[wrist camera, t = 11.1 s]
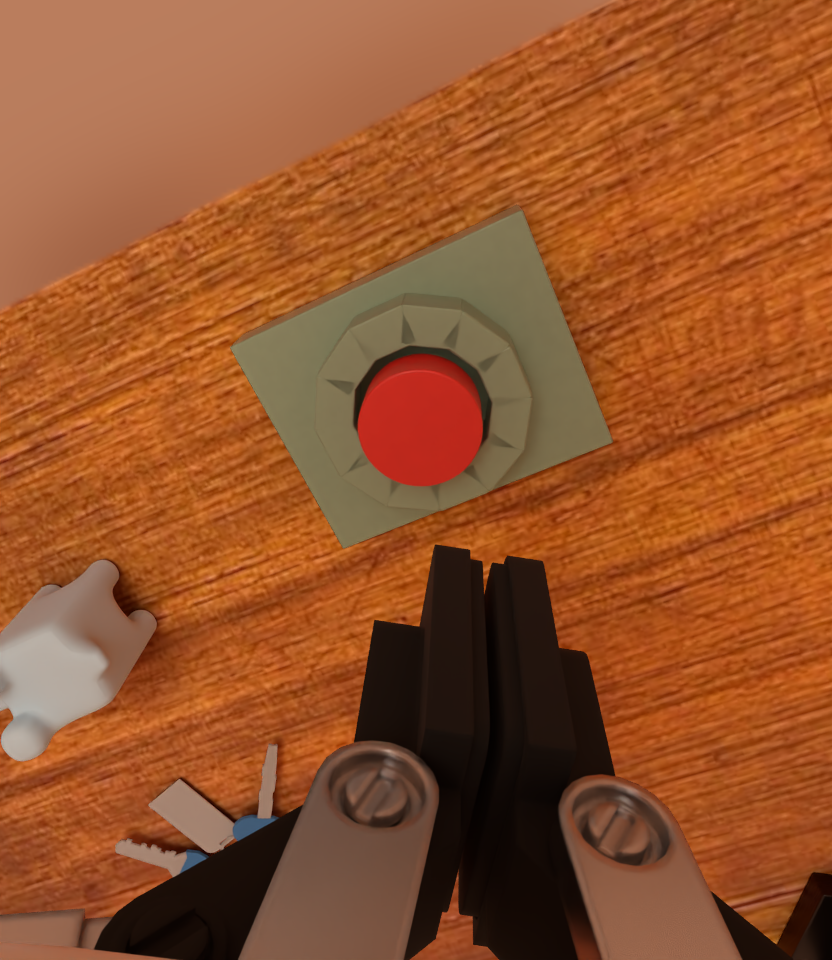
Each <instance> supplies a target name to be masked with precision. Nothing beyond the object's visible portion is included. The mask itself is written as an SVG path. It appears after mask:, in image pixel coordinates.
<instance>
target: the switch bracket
mask: <svg viewBox="0 0 832 960" xmlns="http://www.w3.org/2000/svg"><path fill="white" fill-rule="evenodd" d="M777 946H778V947H779V948H781V949H782V950H783V951H784V952H785V953H787V954H788V955H789V956H790V957H792V958H793V959H794V960H832V875H825V874H818V873H813V874H812V876H811V878H810V880H809V882H808V884H807V886H806V888H805V890H804V892H803V894H802V896H801V898H800V900H799V902H798V904H797V907H796V909H795V911H794V913H793V915H792V917H791V919H790V921H789V923H788V925H787V927H786V929H785V931H784V933H783V935H782V937H781V939H780V941H779V943H778V945H777Z"/></svg>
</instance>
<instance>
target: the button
mask: <svg viewBox="0 0 832 960" xmlns="http://www.w3.org/2000/svg"><path fill="white" fill-rule="evenodd" d="M358 436H359V440H360V444H361V447H362V449H363V451H364V453H365V455H366V457H367V458H368V460H369V461H370V462H371V464H372V465H373V466H374V467H375V468H376V469H377V470H378V471H379V472H381V473H382V474H384V475H385V476H387V477H388V478H390V479H392V480H394V481H396V482H399V483H402V484H406V485H411V486H432V485H437V484H440V483H443V482H446V481H448V480H450V479H452V478H454V477H456V476H457V475H459V474H460V473H461V472H462V471H464V470H465V469H466V468H467V467H468V466H469V465H470V463H471V462H472V461H473V459H474V458H475V456H476V454H477V452H478V450H479V447H480V444H481V441H482V436H483V422H482V410H481V401H480V396H479V393H478V390H477V388H476V386H475V384H474V382H473V381H472V379H471V378H470V376H469V375H468V374H467V373H466V372H465V371H464V370H463V369H462V368H461V367H459V366H458V365H457V364H455V363H454V362H452V361H450V360H448V359H446V358H444V357H440V356H437V355H432V354H411V355H407V356H403V357H400V358H398V359H396V360H394V361H392V362H390V363H388V364H387V365H386V366H384V367H383V368H382V369H381V370H380V371H379V372H378V373H377V374H376V375H375V377H374V378H373V379H372V381H371V383H370V384H369V387H368V389H367V391H366V394H365V397H364V400H363V403H362V406H361V409H360V413H359V417H358Z"/></svg>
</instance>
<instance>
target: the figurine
mask: <svg viewBox="0 0 832 960" xmlns="http://www.w3.org/2000/svg"><path fill="white" fill-rule="evenodd" d="M118 579H119V571H118V569H117V567H116V566H115V565H114V564H113V563H111V562H110V561H107V560H98V561H96V562H94V563H92V564H91V565H90V566H89V568H88V569H87V570H86V571H85V572H84V573H83V574H82V575H81V576H79V577H78V578H77V579H76V580H74V581H73V582H71V583H69V584H68V585H66V586H64V587H63V588H61V587H59V586H57V585H46V586H44V587H42V588H41V589H40V590H39V591H38V592H37V593H36V594H35V595H34V596H33V598H32V599H31V600H30V601H29V602H28V603H27V604H26V605H25V606H24V608H23V609H22V610H21V611H20V612H19V613H18V614H17V615H16V616H15V618H14V619H13V620H12V621H11V622H10V623H9V624H8V625H7V626H6V628H5V629H4V630H3V631H2V632H1V633H0V711H2V710H4V709H6V708H9V709H10V711H11V712H12V714H13V717H14V718H13V720H12V721H11V723H10V724H9V725H8V726H7V727H6V728H5V730H4V732H3V734H2V737H1V744H2V747H3V749H4V750H5V752H6V753H7V754H8V755H9V756H10V757H12V758H13V759H15V760H18V761H27V760H31V759H33V758H35V757H37V756H39V755H40V754H42V753H43V752H44V751H45V750H46V748H47V746H48V745H49V743H50V740H51V738H52V737H53V735H54V734H55V733H56V732H57V731H58V730H60V729H61V728H62V727H64V726H65V725H67V724H69V723H71V722H72V721H74V720H76V719H78V718H81V717H83V716H85V715H87V714H90V713H92V712H94V711H97V710H99V709H101V708H102V707H104V706H106V705H107V704H109V703H110V702H111V701H112V700H113V699H114V697H115V696H116V695H117V693H118V692H119V690H120V688H121V687H122V685H123V683H124V681H125V680H126V678H127V676H128V675H129V673H130V671H131V670H132V668H133V666H134V665H135V663H136V661H137V660H138V658H139V656H140V655H141V653H142V651H143V650H144V648H145V646H146V645H147V643H148V641H149V640H150V638H151V636H152V635H153V633H154V631H155V630H156V627H157V622H156V619H155V617H154V616H153V615H152V614H151V613H150V612H148V611H146V610H136V611H134V612H132V613H131V614H130V615H129V616H128V617H127V616H126V615H125V614H124V613H123V611H122V610H121V609H120V607H119V606H118V605H117V603H116V601H115V599H114V597H113V587H114V585H115V584H116V583H117V581H118Z"/></svg>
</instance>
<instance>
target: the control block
mask: <svg viewBox="0 0 832 960" xmlns="http://www.w3.org/2000/svg"><path fill="white" fill-rule="evenodd" d="M230 349H231V351H232V352H233V354H234V356H235V358H236V359H237V361H238V363H239V365H240V366H241V368H242V370H243V372H244V374H245V375H246V377H247V379H248V381H249V382H250V384H251V386H252V388H253V390H254V391H255V393H256V395H257V397H258V398H259V400H260V402H261V404H262V405H263V407H264V409H265V411H266V413H267V414H268V416H269V418H270V420H271V421H272V423H273V425H274V427H275V429H276V430H277V432H278V434H279V436H280V437H281V439H282V441H283V443H284V445H285V446H286V448H287V450H288V452H289V453H290V455H291V457H292V459H293V460H294V462H295V464H296V466H297V468H298V469H299V471H300V473H301V475H302V476H303V478H304V480H305V482H306V484H307V485H308V487H309V489H310V491H311V492H312V494H313V496H314V498H315V499H316V501H317V503H318V505H319V507H320V508H321V510H322V512H323V514H324V515H325V517H326V519H327V521H328V523H329V524H330V526H331V528H332V530H333V531H334V533H335V535H336V537H337V539H338V540H339V542H340V544H341V546H342V547H343V548H347V547H349V546H352V545H354V544H357V543H360V542H362V541H365V540H367V539H370V538H372V537H375V536H377V535H380V534H382V533H385V532H387V531H390V530H392V529H395V528H398V527H400V526H403V525H405V524H408V523H410V522H413V521H415V520H418V519H420V518H423V517H425V516H428V515H430V514H433V513H436V512H438V511H443V510H445V509H448V508H451V507H453V506H456V505H458V504H461V503H463V502H466V501H468V500H471V499H473V498H476V497H478V496H481V495H483V494H486V493H488V492H489V491H491V490H494V489H496V488H499V487H501V486H504V485H506V484H509V483H511V482H514V481H517V480H519V479H522V478H524V477H527V476H529V475H532V474H534V473H537V472H539V471H542V470H544V469H547V468H549V467H552V466H555V465H557V464H560V463H562V462H565V461H567V460H570V459H572V458H575V457H577V456H580V455H582V454H585V453H587V452H590V451H593V450H595V449H598V448H600V447H603V446H605V445H608V444H610V443H612V442H613V439H612V437H611V434H610V432H609V429H608V427H607V424H606V422H605V419H604V416H603V414H602V411H601V409H600V406H599V404H598V401H597V399H596V396H595V393H594V391H593V388H592V386H591V383H590V381H589V378H588V376H587V373H586V371H585V368H584V365H583V363H582V360H581V358H580V355H579V353H578V350H577V348H576V345H575V342H574V340H573V337H572V335H571V332H570V330H569V327H568V325H567V322H566V319H565V317H564V314H563V312H562V309H561V307H560V304H559V302H558V299H557V297H556V294H555V291H554V289H553V286H552V284H551V281H550V279H549V276H548V274H547V271H546V268H545V266H544V263H543V261H542V258H541V256H540V253H539V251H538V248H537V245H536V243H535V240H534V238H533V235H532V233H531V230H530V228H529V225H528V222H527V220H526V217H525V215H524V212H523V210H522V209H521V208H520V206H519V205H515V206H513V207H511V208H509V209H507V210H505V211H503V212H501V213H498V214H496V215H494V216H492V217H490V218H488V219H486V220H484V221H482V222H479V223H477V224H475V225H473V226H471V227H469V228H467V229H465V230H463V231H460V232H458V233H456V234H454V235H452V236H450V237H448V238H446V239H444V240H441V241H439V242H437V243H435V244H433V245H431V246H429V247H427V248H425V249H422V250H420V251H418V252H416V253H414V254H412V255H410V256H408V257H406V258H403V259H401V260H399V261H397V262H395V263H393V264H391V265H389V266H387V267H384V268H382V269H380V270H378V271H376V272H374V273H372V274H370V275H368V276H365V277H363V278H361V279H359V280H357V281H355V282H353V283H351V284H349V285H346V286H344V287H342V288H340V289H338V290H336V291H334V292H332V293H330V294H327V295H325V296H323V297H321V298H319V299H317V300H315V301H313V302H310V303H308V304H306V305H304V306H302V307H300V308H298V309H296V310H294V311H291V312H289V313H287V314H285V315H283V316H281V317H279V318H277V319H275V320H272V321H270V322H268V323H266V324H264V325H262V326H260V327H258V328H256V329H253V330H251V331H249V332H247V333H245V334H243V335H242V336H241V337H240V338H239V339H238V340H237V341H236V342H235V343H234V344H233V345H232V346H231V347H230ZM411 354H432V355H437V356H440V357H444V358H446V359H448V360H450V361H452V362H454V363H455V364H457V365H458V366H459V367H461V368H462V369H463V370H464V371H465V372H466V373H467V374H468V375H469V376H470V378H471V379H472V381H473V382H474V384H475V386H476V388H477V390H478V393H479V396H480V401H481V410H482V422H483V436H482V441H481V444H480V447H479V450H478V452H477V454H476V456H475V458H474V459H473V461H472V462H471V463H470V465H469V466H468V467H467V468H466V469H465V470H464V471H462V472H461V473H460V474H459V475H457V476H456V477H454V478H452V479H450V480H448V481H446V482H443V483H440V484H437V485H432V486H411V485H406V484H402V483H399V482H396V481H394V480H392V479H390V478H388V477H387V476H385V475H384V474H382V473H381V472H379V471H378V470H377V469H376V468H375V467H374V466H373V465H372V464H371V462H370V461H369V460H368V458H367V457H366V455H365V453H364V451H363V449H362V447H361V444H360V440H359V436H358V417H359V413H360V409H361V406H362V403H363V400H364V397H365V394H366V391H367V389H368V387H369V384H370V383H371V381H372V379H373V378H374V377H375V375H376V374H377V373H378V372H379V371H380V370H381V369H382V368H383V367H384V366H386V365H387V364H388V363H390V362H392V361H394V360H396V359H398V358H400V357H403V356H407V355H411Z"/></svg>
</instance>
